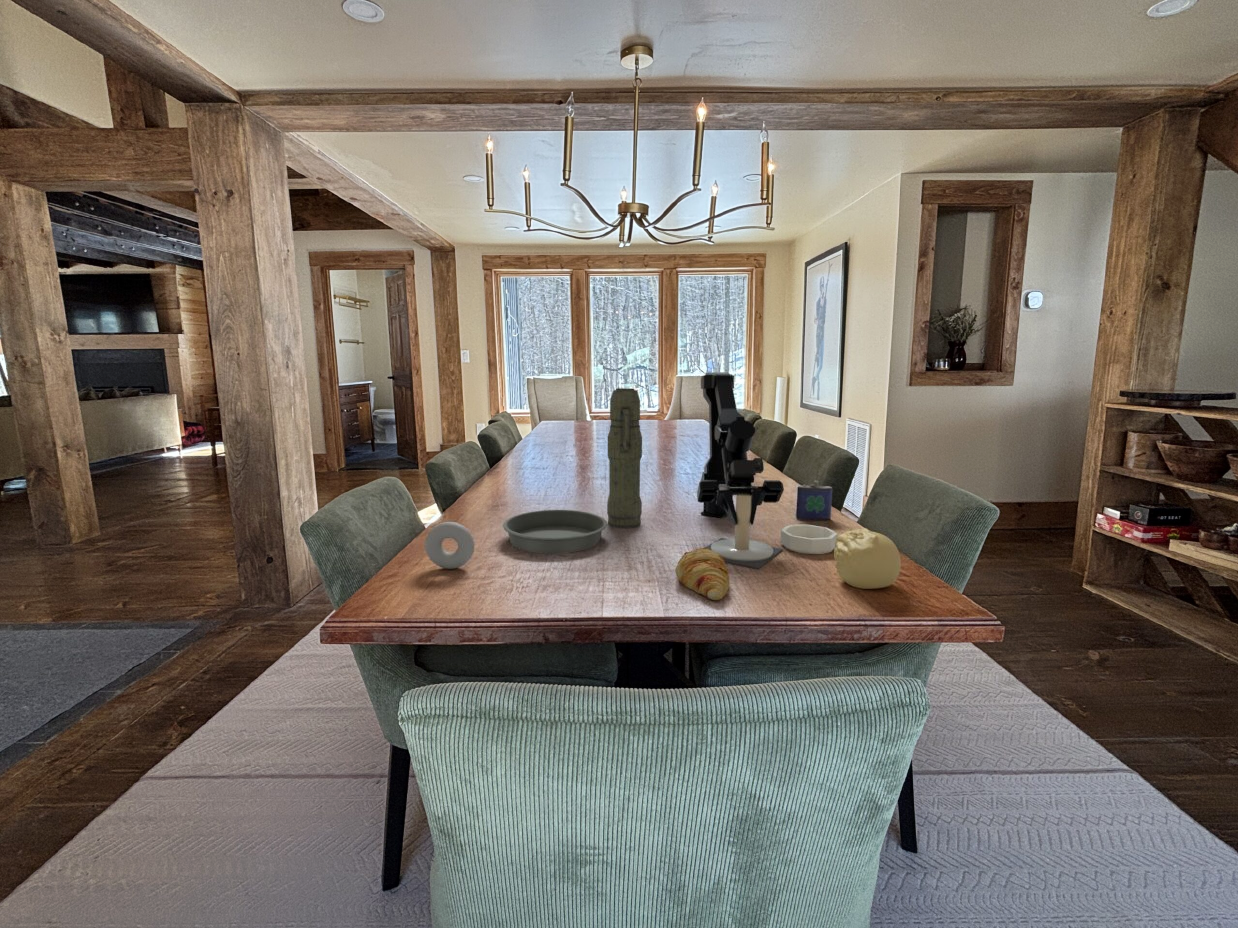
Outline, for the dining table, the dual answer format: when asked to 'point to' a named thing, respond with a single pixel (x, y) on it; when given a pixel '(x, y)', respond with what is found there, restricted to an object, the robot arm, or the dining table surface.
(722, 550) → the lid
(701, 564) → the croissant
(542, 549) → the cake pan
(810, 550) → the bowl
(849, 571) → the sculpture
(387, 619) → the dining table surface
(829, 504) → the flask
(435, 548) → the donut
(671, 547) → the dining table surface
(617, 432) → the thermos
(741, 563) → the mat
